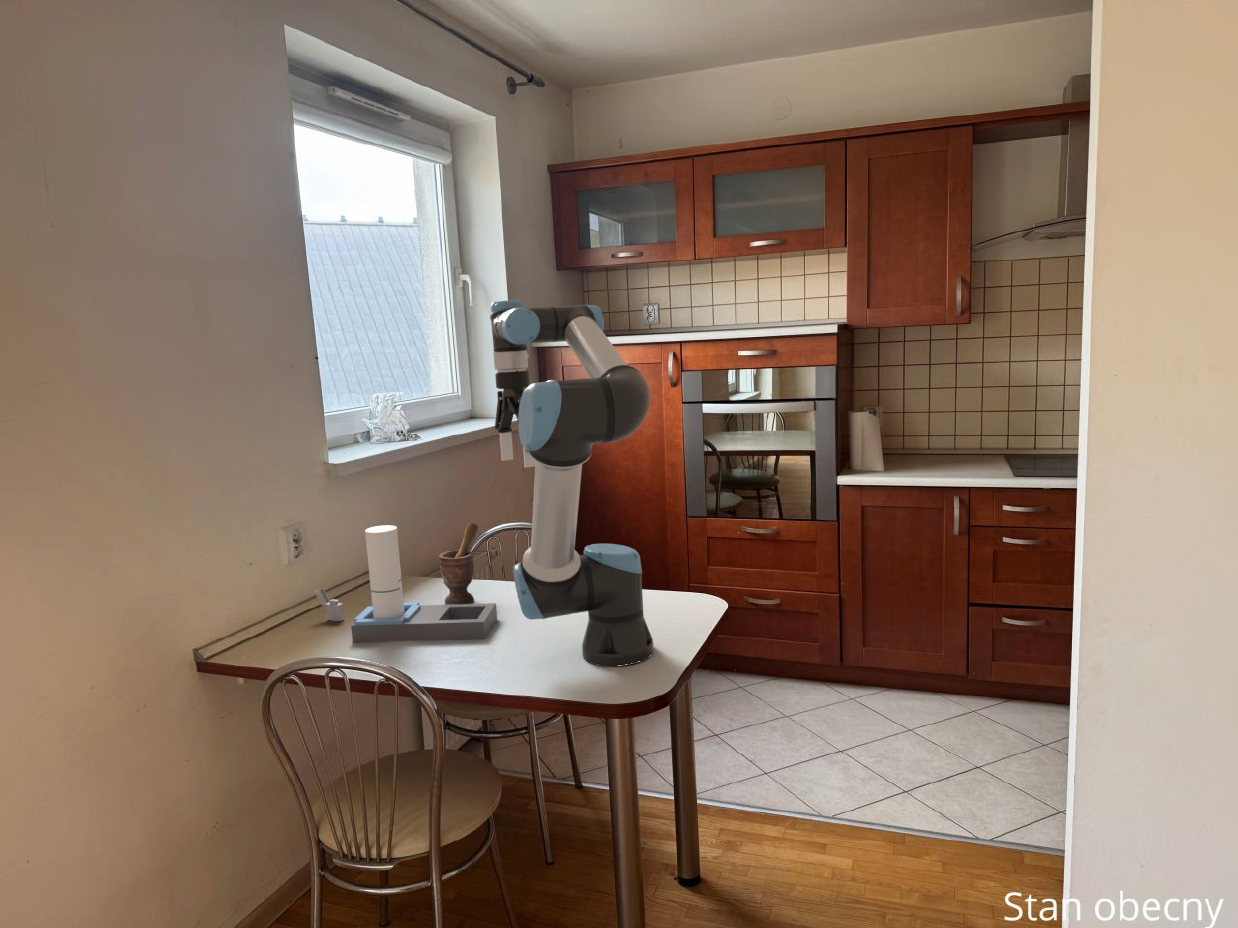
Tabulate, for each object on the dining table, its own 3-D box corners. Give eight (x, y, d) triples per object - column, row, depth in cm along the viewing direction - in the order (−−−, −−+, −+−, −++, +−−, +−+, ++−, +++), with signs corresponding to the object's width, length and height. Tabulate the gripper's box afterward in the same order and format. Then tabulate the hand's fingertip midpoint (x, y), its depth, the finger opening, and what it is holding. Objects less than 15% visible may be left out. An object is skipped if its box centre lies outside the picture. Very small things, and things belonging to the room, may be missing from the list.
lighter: (344, 619, 211) (341, 588, 209) (340, 622, 209) (336, 591, 208) (323, 617, 214) (319, 586, 212) (318, 619, 212) (314, 588, 211)
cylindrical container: (410, 626, 203) (401, 525, 199) (399, 636, 196) (389, 532, 192) (382, 626, 204) (372, 525, 200) (370, 636, 197) (359, 532, 193)
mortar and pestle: (459, 592, 227) (453, 520, 224) (488, 594, 225) (482, 521, 221) (437, 607, 217) (430, 531, 213) (467, 608, 214) (460, 532, 211)
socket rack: (497, 618, 205) (495, 599, 204) (484, 638, 192) (483, 618, 191) (373, 622, 208) (371, 603, 207) (352, 641, 195) (350, 622, 194)
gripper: (550, 370, 181) (556, 467, 185) (506, 368, 203) (513, 455, 206) (517, 372, 178) (525, 472, 181) (476, 370, 199) (483, 459, 203)
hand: (518, 463), depth 194 cm, fingers open, 13 cm apart
